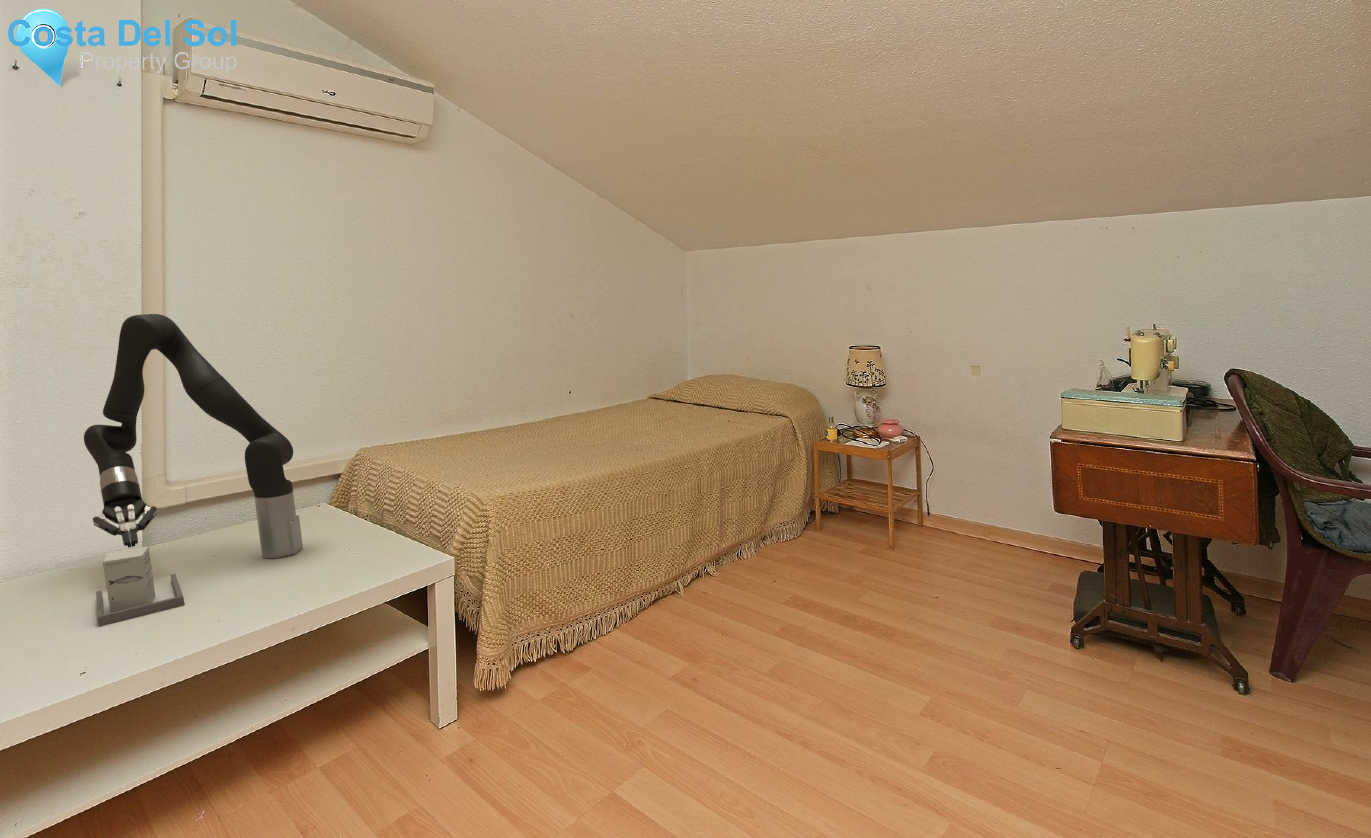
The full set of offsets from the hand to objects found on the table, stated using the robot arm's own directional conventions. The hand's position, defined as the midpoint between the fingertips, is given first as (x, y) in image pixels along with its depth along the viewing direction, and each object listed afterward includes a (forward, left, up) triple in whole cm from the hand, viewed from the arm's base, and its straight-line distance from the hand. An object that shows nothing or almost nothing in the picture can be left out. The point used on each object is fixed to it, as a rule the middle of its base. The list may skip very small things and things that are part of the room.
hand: (131, 545), depth 162 cm
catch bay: (-6, +11, -10) cm, 17 cm away
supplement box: (-6, +12, -11) cm, 17 cm away
